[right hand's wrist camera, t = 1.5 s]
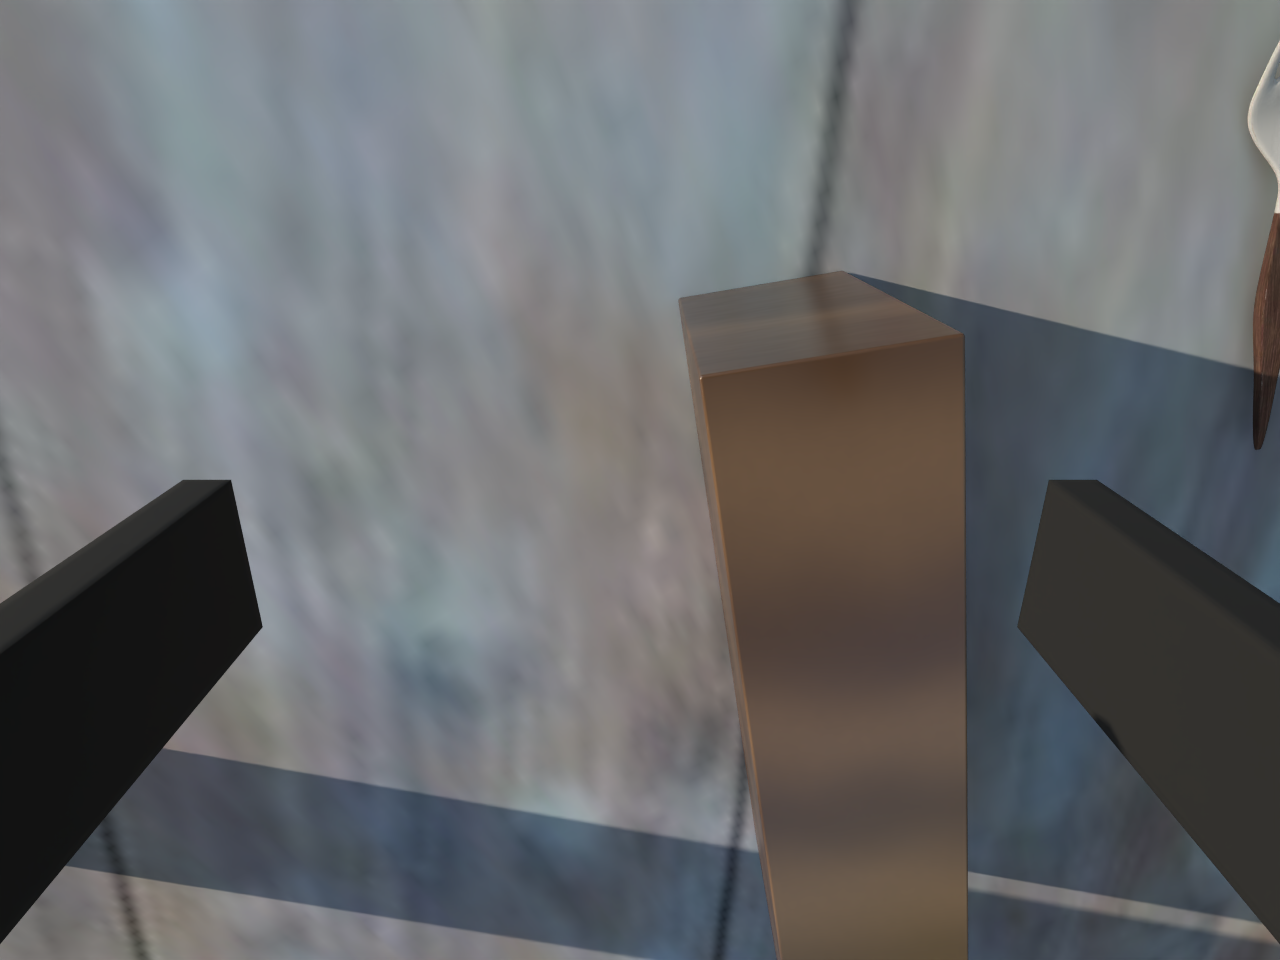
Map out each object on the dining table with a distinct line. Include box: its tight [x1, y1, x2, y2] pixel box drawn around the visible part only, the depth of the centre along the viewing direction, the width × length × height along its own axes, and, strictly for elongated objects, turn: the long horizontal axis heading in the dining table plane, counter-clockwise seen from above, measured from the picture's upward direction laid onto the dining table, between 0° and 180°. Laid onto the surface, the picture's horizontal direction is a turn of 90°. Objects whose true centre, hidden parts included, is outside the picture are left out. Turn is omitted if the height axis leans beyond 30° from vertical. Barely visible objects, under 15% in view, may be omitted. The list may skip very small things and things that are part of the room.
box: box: [679, 271, 968, 960], centre depth 29 cm, size 28×6×12 cm, turn 9°
